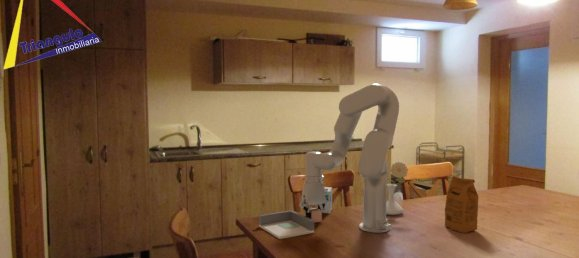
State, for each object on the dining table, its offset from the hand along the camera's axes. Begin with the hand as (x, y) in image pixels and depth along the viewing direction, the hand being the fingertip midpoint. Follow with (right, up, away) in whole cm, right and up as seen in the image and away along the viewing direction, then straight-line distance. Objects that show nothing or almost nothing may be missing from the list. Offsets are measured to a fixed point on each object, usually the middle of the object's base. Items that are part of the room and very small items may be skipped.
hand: (313, 219), depth 181 cm
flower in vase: (+38, 0, +12) cm, 40 cm away
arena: (-12, -1, -13) cm, 18 cm away
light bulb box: (+6, 0, +17) cm, 18 cm away
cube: (0, -1, 0) cm, 1 cm away
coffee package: (+61, -2, -11) cm, 62 cm away
